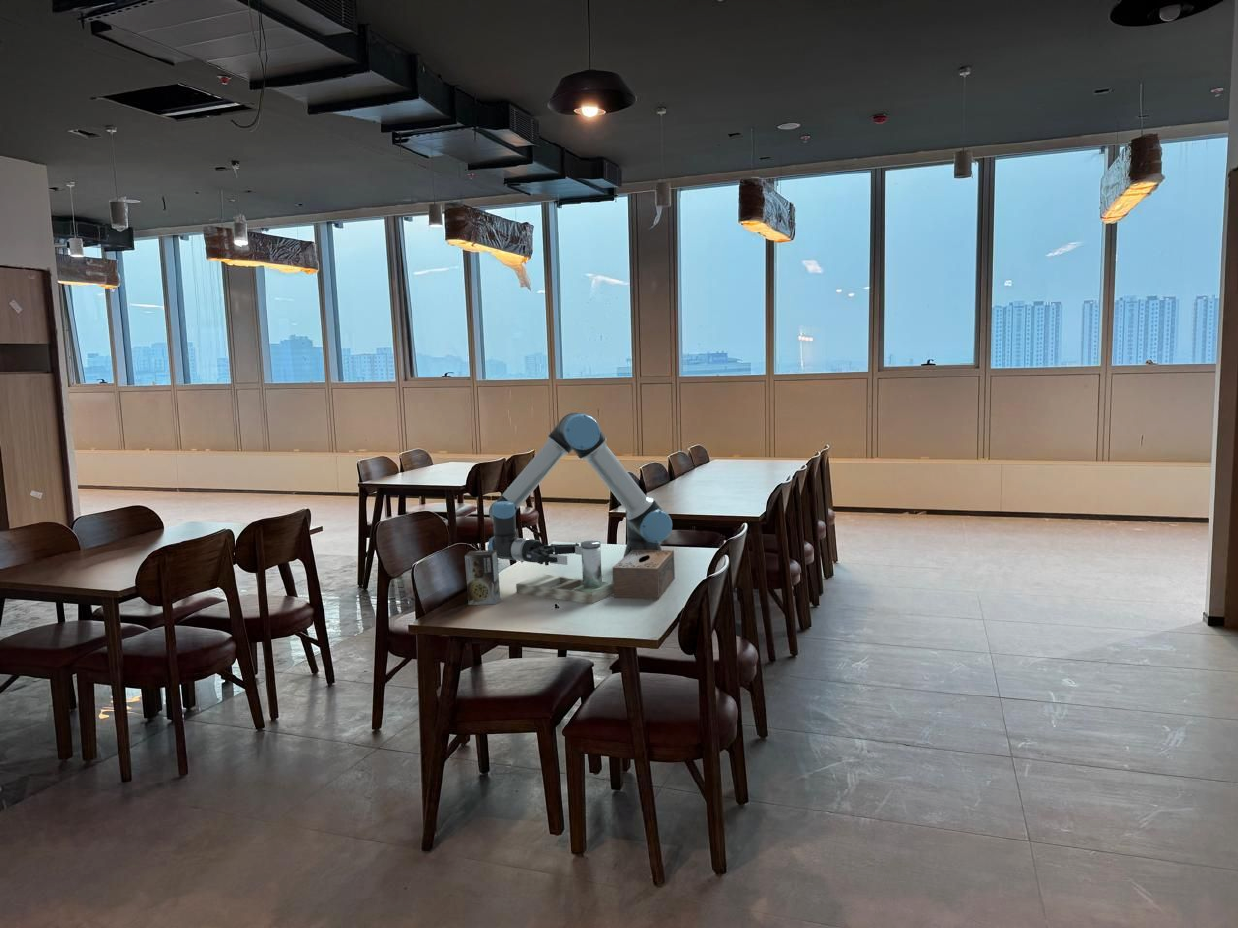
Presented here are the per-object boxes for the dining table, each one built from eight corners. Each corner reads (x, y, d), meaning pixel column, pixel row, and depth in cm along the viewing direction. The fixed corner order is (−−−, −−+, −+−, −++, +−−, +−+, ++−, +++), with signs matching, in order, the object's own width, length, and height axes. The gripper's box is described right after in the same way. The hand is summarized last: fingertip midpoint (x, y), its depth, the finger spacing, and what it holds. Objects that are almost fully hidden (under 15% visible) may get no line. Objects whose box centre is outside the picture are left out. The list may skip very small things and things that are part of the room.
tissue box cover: (633, 578, 282) (632, 549, 281) (674, 579, 278) (673, 550, 277) (613, 598, 257) (612, 567, 256) (658, 600, 254) (657, 568, 253)
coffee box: (501, 599, 262) (498, 549, 260) (496, 604, 256) (492, 554, 254) (473, 599, 263) (469, 550, 261) (467, 605, 256) (464, 554, 255)
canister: (602, 583, 262) (600, 540, 261) (601, 588, 256) (599, 544, 255) (583, 583, 263) (581, 541, 261) (582, 589, 257) (579, 545, 255)
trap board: (516, 592, 269) (515, 582, 268) (543, 582, 280) (543, 573, 280) (590, 603, 252) (589, 592, 252) (616, 592, 263) (615, 582, 263)
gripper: (552, 553, 283) (602, 559, 272) (503, 569, 263) (555, 576, 251) (550, 532, 283) (601, 536, 271) (502, 546, 262) (554, 552, 250)
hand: (579, 555), depth 261 cm, fingers open, 13 cm apart
